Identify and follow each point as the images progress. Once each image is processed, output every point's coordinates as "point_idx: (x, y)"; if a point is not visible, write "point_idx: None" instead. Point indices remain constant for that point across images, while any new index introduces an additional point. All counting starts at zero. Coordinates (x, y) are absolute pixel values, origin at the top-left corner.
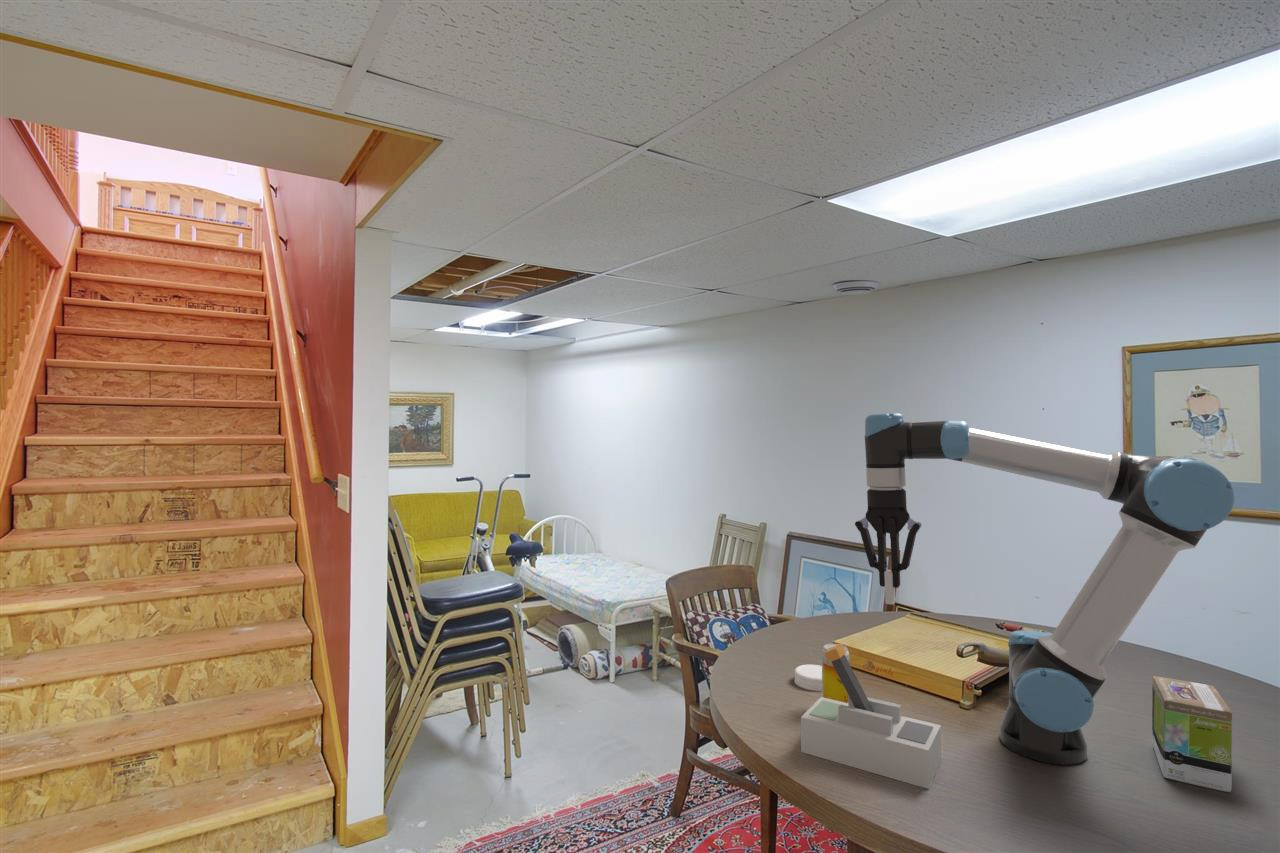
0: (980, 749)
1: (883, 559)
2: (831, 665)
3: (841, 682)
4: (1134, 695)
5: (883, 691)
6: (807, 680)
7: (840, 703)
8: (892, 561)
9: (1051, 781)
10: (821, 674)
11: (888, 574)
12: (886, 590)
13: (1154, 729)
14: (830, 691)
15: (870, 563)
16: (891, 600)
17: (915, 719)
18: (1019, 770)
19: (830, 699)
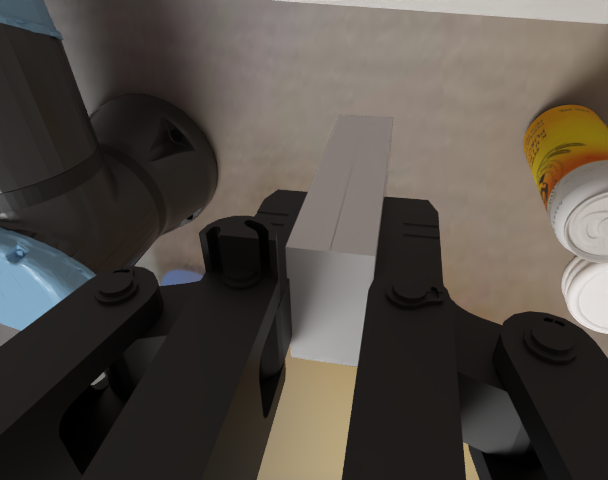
0: (237, 96)
1: (366, 395)
2: None
3: (565, 145)
4: (103, 373)
5: (445, 286)
6: None
7: (569, 3)
8: (233, 356)
9: (110, 19)
10: (606, 286)
11: (330, 235)
12: (375, 157)
13: None
14: (595, 127)
15: (584, 359)
16: (346, 125)
17: (336, 2)
18: (162, 36)
19: (605, 21)
